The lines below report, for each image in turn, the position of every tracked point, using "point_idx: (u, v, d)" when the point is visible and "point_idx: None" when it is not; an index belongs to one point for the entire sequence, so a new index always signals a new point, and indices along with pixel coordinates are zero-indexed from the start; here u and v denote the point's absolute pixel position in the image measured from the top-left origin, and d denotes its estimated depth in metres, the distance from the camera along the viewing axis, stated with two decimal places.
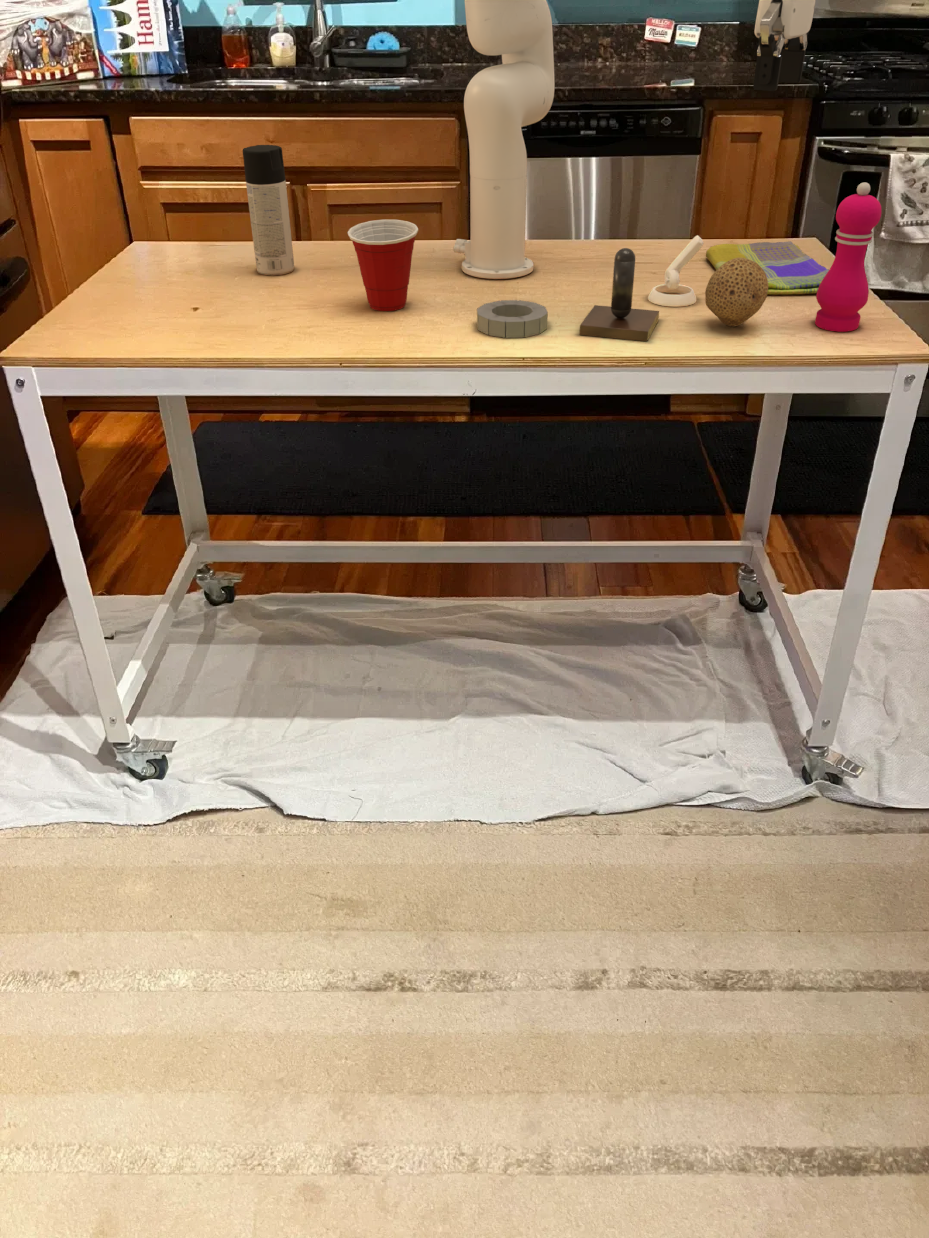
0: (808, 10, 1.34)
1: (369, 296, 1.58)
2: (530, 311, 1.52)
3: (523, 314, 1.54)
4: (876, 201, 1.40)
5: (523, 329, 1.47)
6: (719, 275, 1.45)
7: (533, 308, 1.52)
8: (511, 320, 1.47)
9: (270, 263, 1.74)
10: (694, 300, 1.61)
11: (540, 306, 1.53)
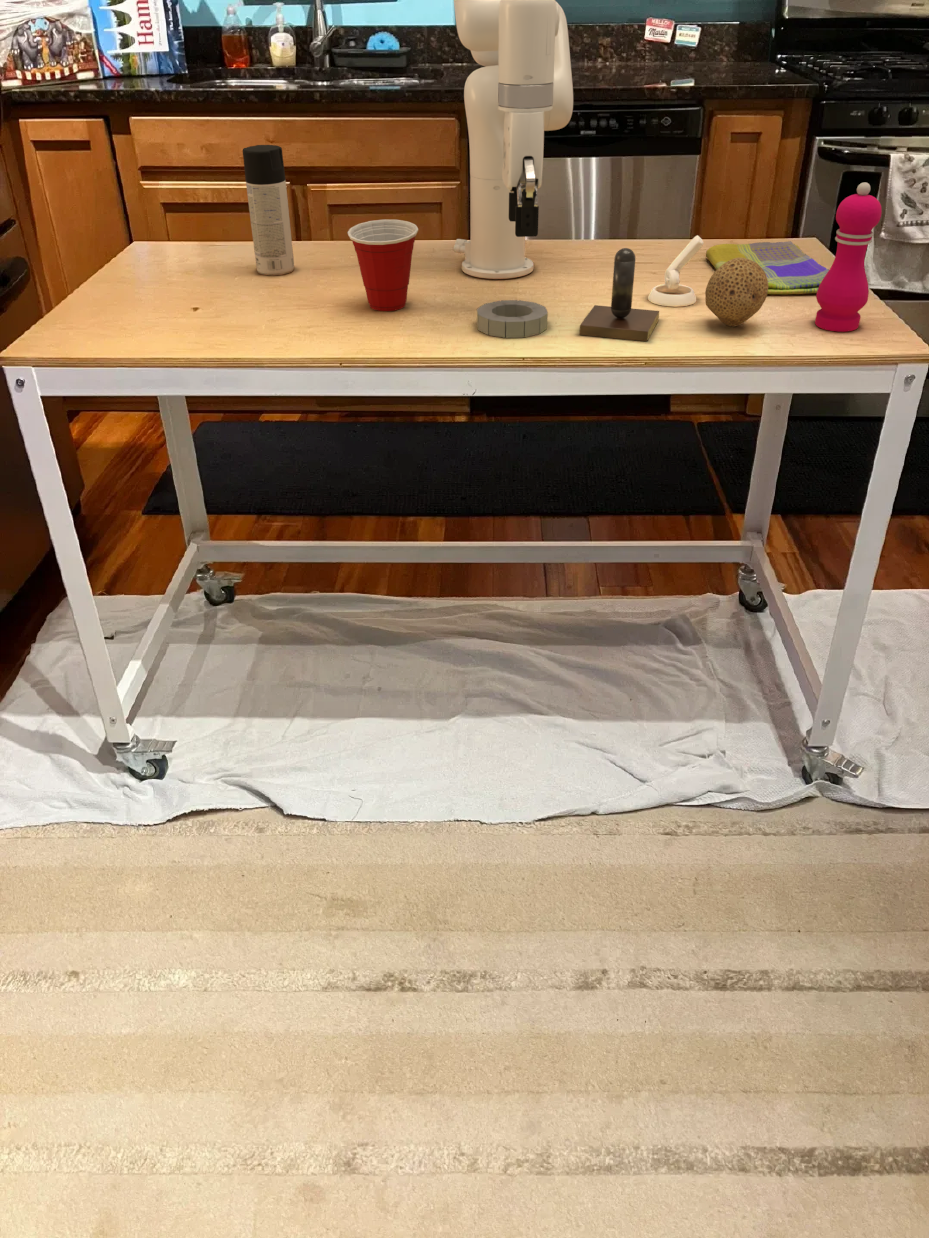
0: None
1: (369, 296, 1.58)
2: (530, 311, 1.52)
3: (523, 314, 1.54)
4: (876, 201, 1.40)
5: (523, 329, 1.47)
6: (719, 275, 1.45)
7: (533, 308, 1.52)
8: (511, 320, 1.47)
9: (270, 263, 1.74)
10: (694, 300, 1.61)
11: (540, 306, 1.53)
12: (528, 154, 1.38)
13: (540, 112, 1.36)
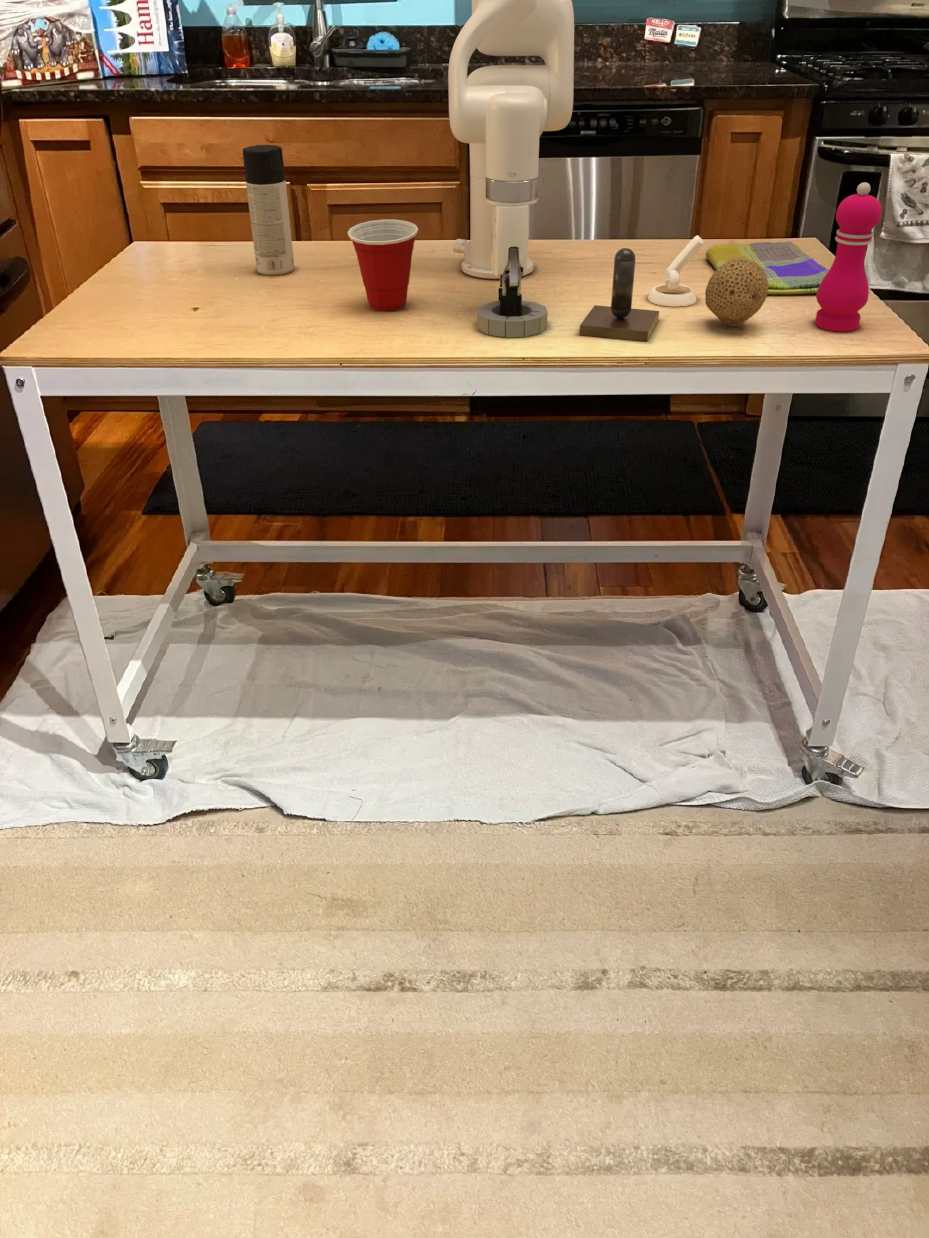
0: None
1: (369, 296, 1.58)
2: (530, 311, 1.52)
3: (522, 314, 1.54)
4: (876, 201, 1.40)
5: (523, 329, 1.47)
6: (719, 275, 1.45)
7: (532, 307, 1.52)
8: (511, 319, 1.47)
9: (270, 263, 1.74)
10: (694, 300, 1.61)
11: (540, 305, 1.53)
12: (513, 245, 1.45)
13: (525, 206, 1.43)
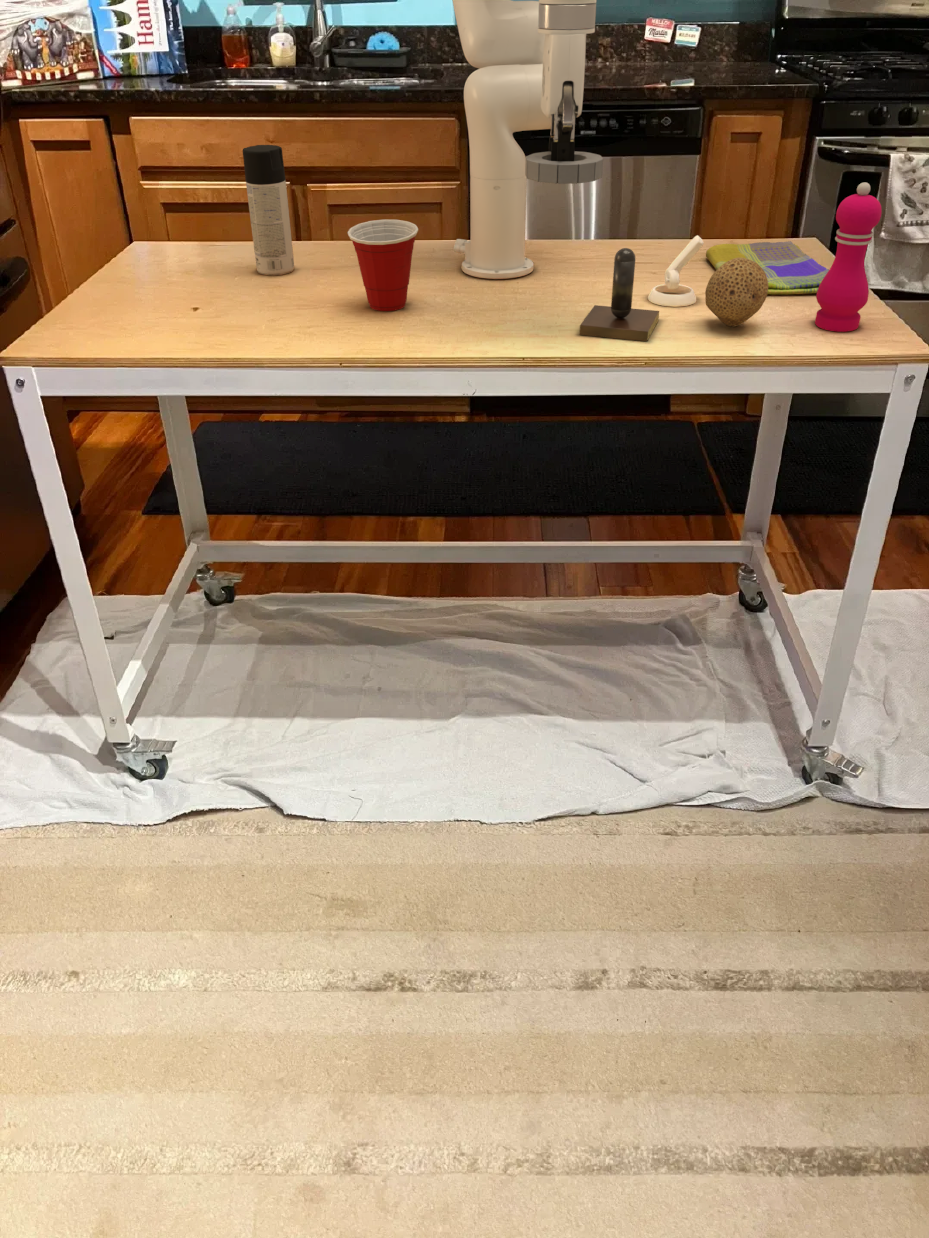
0: None
1: (369, 296, 1.58)
2: (584, 160, 1.40)
3: None
4: (876, 201, 1.40)
5: (577, 174, 1.35)
6: (719, 275, 1.45)
7: (586, 156, 1.40)
8: (564, 163, 1.35)
9: (270, 263, 1.74)
10: (694, 300, 1.61)
11: (594, 154, 1.40)
12: (568, 79, 1.32)
13: (582, 34, 1.31)
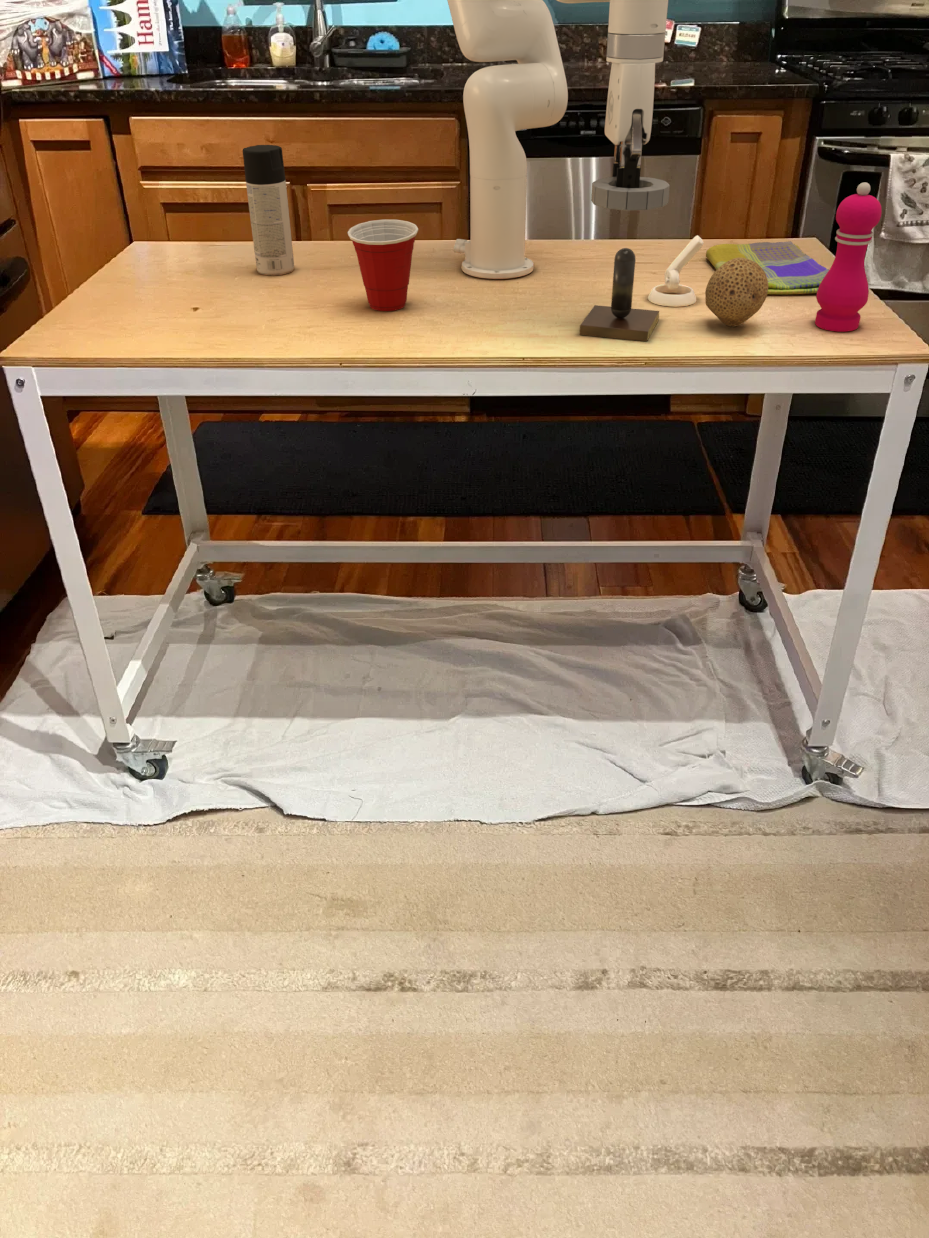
0: None
1: (369, 296, 1.58)
2: (649, 185, 1.41)
3: None
4: (876, 201, 1.40)
5: (646, 200, 1.37)
6: (719, 275, 1.45)
7: (652, 181, 1.41)
8: (633, 190, 1.36)
9: (270, 263, 1.74)
10: (694, 300, 1.61)
11: (659, 180, 1.42)
12: (638, 107, 1.34)
13: (652, 63, 1.32)
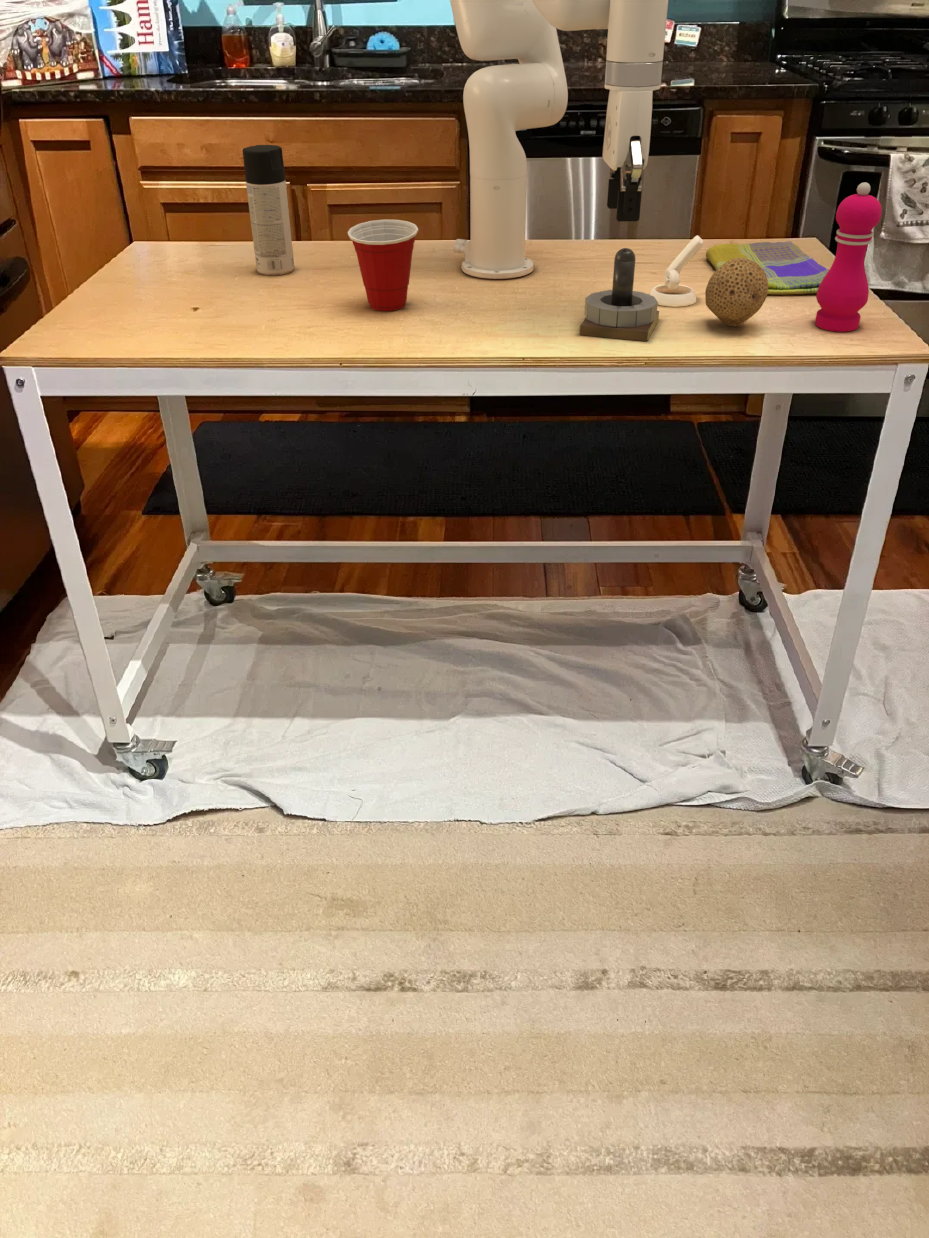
0: None
1: (369, 296, 1.58)
2: (639, 301, 1.51)
3: None
4: (876, 201, 1.40)
5: (635, 318, 1.46)
6: (719, 275, 1.45)
7: (641, 297, 1.51)
8: (623, 309, 1.46)
9: (270, 263, 1.74)
10: (694, 300, 1.61)
11: (648, 295, 1.51)
12: (636, 134, 1.36)
13: (649, 91, 1.34)
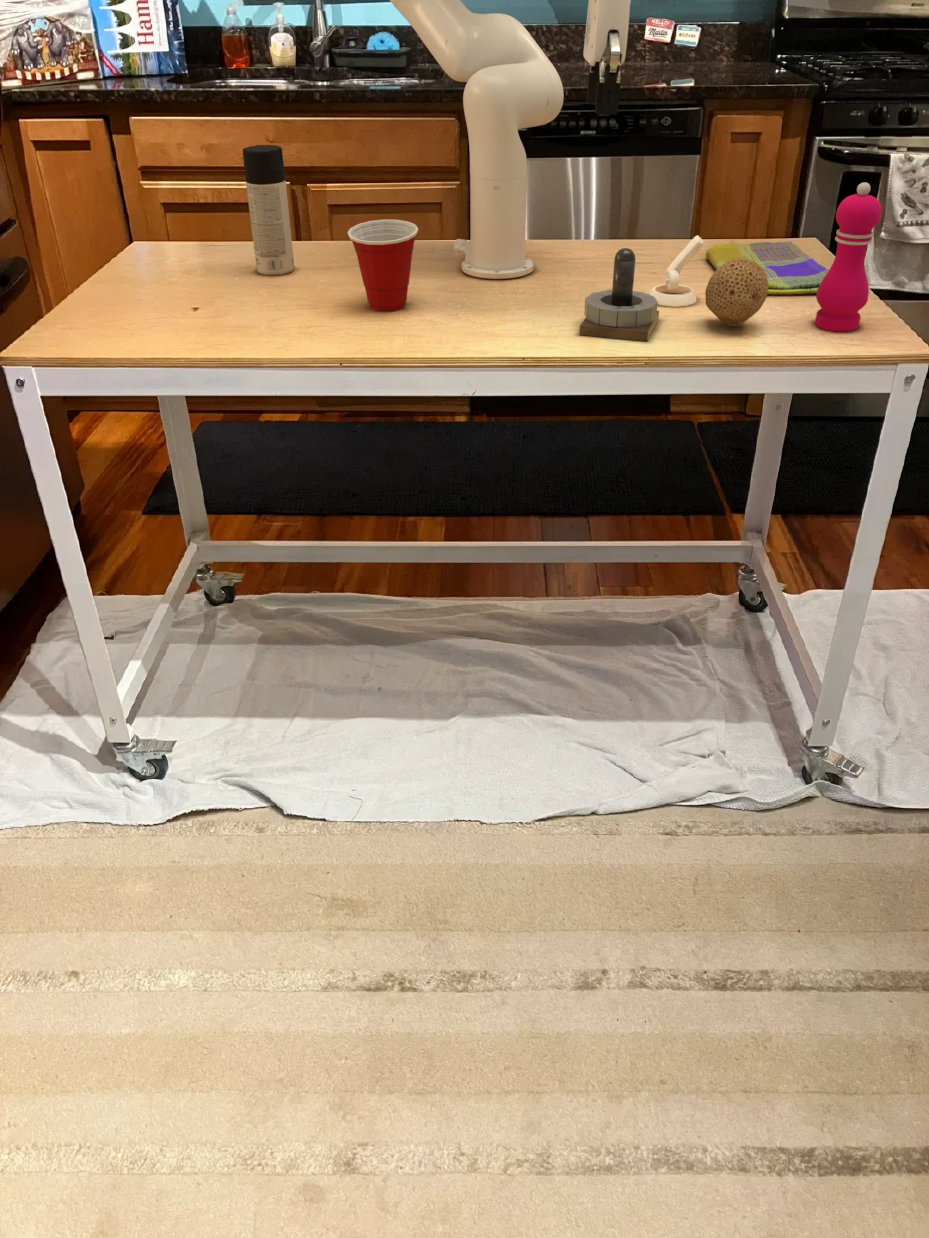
0: None
1: (369, 296, 1.58)
2: (639, 301, 1.51)
3: None
4: (876, 201, 1.40)
5: (635, 318, 1.46)
6: (719, 275, 1.45)
7: (641, 297, 1.51)
8: (623, 309, 1.46)
9: (270, 263, 1.74)
10: (694, 300, 1.61)
11: (648, 295, 1.51)
12: (613, 27, 1.39)
13: None
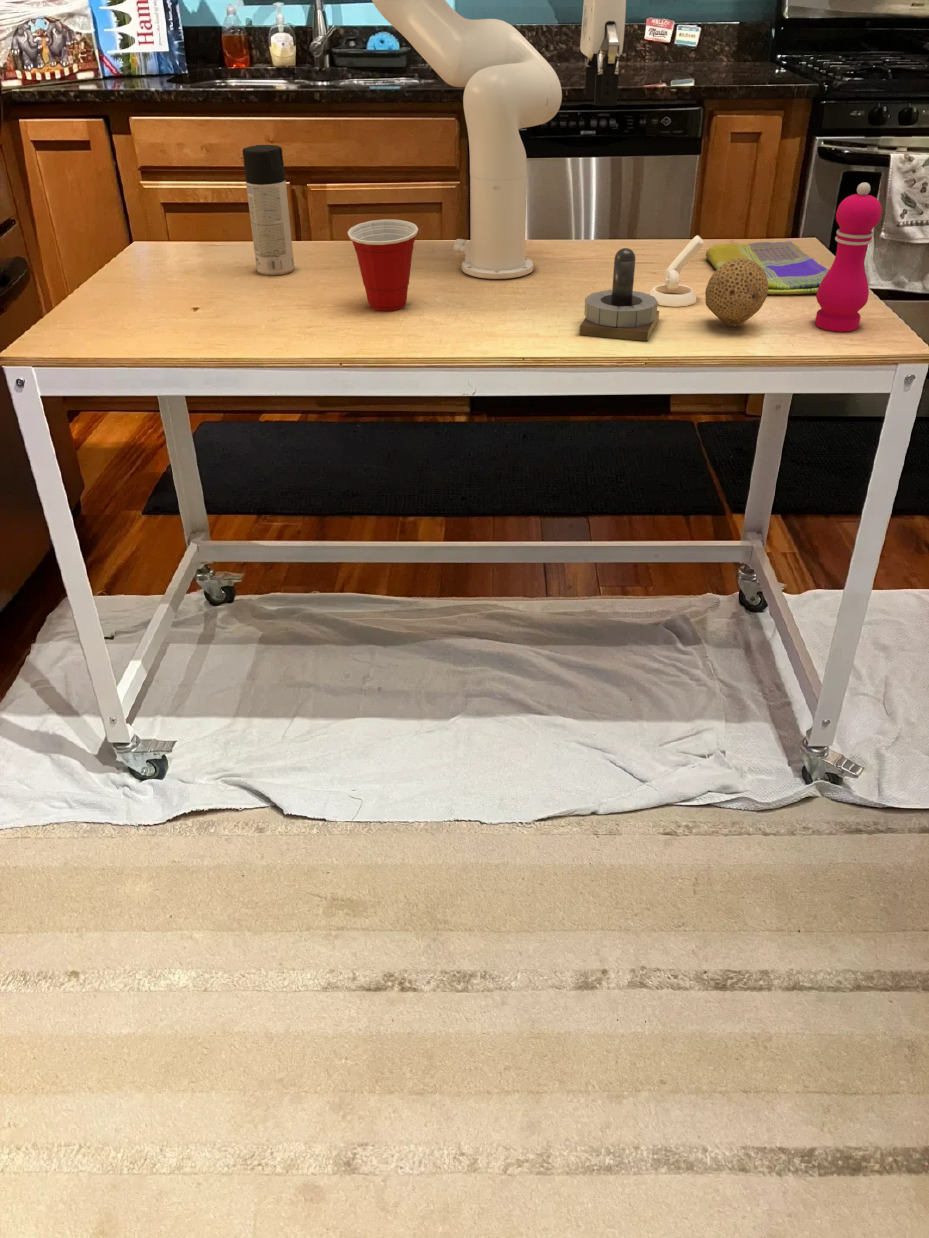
0: None
1: (369, 296, 1.58)
2: (639, 301, 1.51)
3: None
4: (876, 201, 1.40)
5: (635, 318, 1.46)
6: (719, 275, 1.45)
7: (641, 297, 1.51)
8: (623, 309, 1.46)
9: (270, 263, 1.74)
10: (694, 300, 1.61)
11: (648, 295, 1.51)
12: (610, 19, 1.40)
13: None
